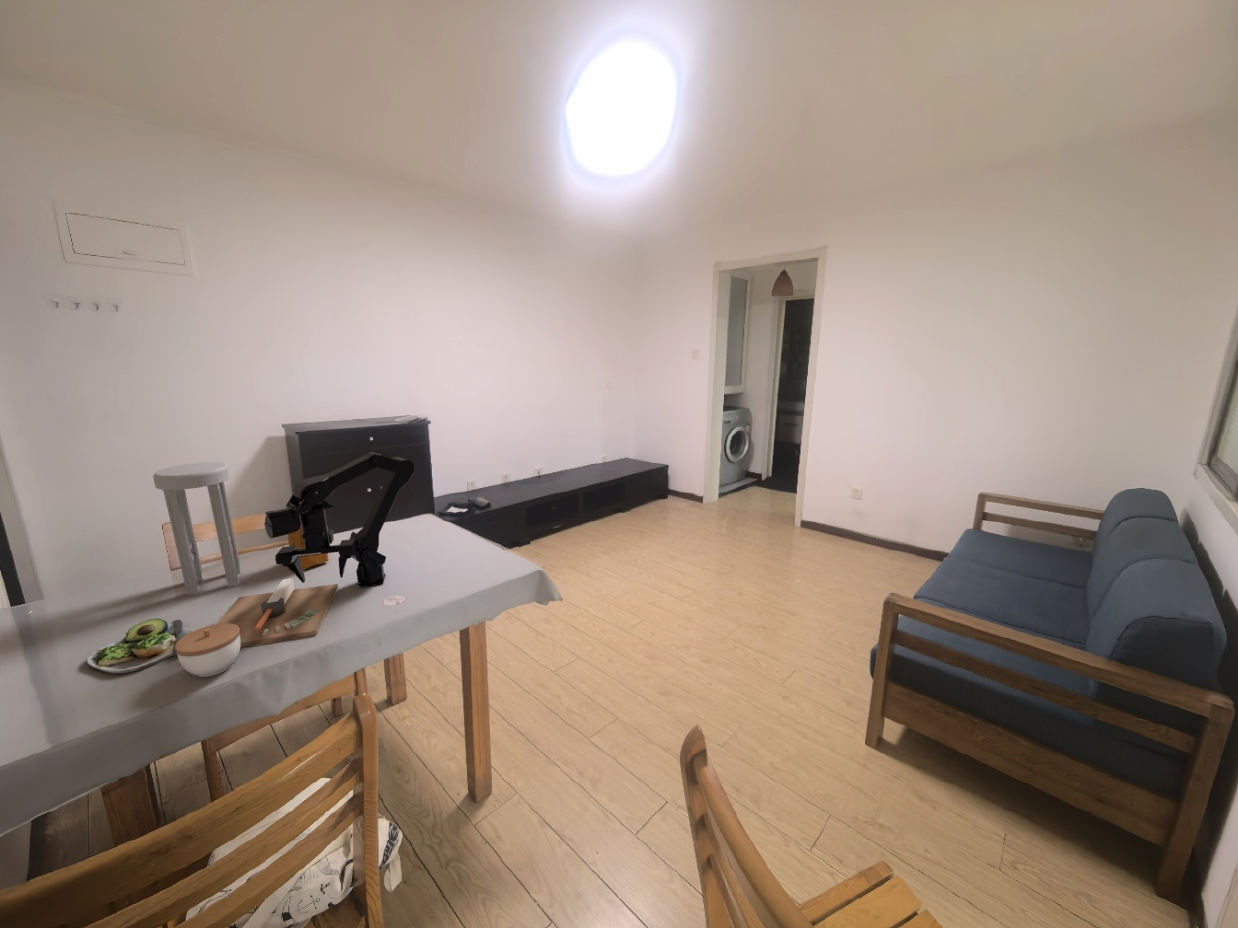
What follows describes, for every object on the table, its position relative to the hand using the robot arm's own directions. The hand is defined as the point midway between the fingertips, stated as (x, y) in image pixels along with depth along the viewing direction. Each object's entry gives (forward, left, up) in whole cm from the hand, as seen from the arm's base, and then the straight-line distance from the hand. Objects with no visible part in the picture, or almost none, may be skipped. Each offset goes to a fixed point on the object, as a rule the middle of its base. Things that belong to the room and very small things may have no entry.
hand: (323, 579), depth 134 cm
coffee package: (+10, -28, -6) cm, 30 cm away
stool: (+33, -21, -6) cm, 40 cm away
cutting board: (+10, +7, -6) cm, 14 cm away
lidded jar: (+16, +26, -6) cm, 31 cm away
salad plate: (+34, +13, -6) cm, 37 cm away
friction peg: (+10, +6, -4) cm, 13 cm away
